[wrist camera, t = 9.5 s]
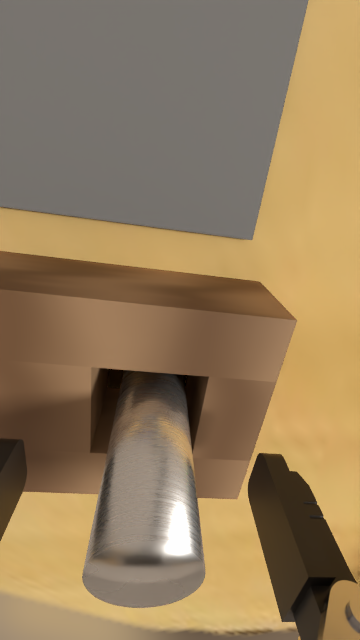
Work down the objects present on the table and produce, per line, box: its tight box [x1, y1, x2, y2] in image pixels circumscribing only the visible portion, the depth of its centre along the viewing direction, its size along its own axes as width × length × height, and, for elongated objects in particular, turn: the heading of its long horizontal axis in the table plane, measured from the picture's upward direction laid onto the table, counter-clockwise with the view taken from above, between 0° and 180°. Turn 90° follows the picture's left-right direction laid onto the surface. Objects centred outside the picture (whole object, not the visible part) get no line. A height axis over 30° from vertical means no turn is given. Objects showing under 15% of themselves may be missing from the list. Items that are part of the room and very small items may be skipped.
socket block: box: [0, 251, 297, 499], centre depth 14 cm, size 20×10×4 cm, turn 82°
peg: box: [82, 370, 205, 608], centre depth 12 cm, size 3×3×10 cm
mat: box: [0, 0, 308, 240], centre depth 10 cm, size 14×12×1 cm
